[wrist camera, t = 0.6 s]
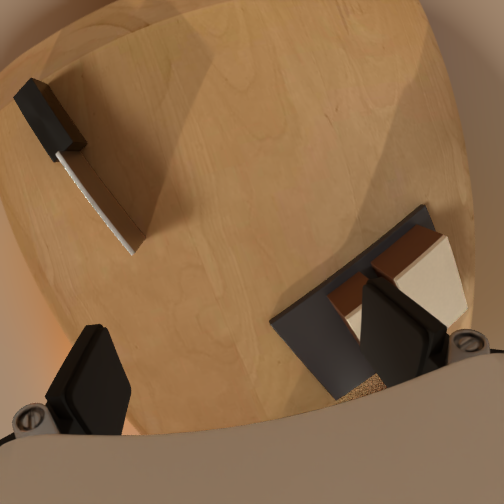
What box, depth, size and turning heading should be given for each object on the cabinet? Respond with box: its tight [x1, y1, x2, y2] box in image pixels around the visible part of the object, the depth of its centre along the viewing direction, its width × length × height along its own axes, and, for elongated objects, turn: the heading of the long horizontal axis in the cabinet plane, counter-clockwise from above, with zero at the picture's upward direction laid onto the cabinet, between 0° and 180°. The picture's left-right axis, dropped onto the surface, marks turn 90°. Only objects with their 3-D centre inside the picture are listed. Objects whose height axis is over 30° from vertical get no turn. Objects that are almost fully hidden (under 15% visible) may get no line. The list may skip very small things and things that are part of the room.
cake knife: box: [13, 78, 146, 255], centre depth 21 cm, size 18×2×4 cm, turn 35°
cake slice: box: [327, 272, 369, 346], centre depth 28 cm, size 10×4×5 cm, turn 35°
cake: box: [269, 204, 468, 400], centre depth 29 cm, size 15×20×6 cm
